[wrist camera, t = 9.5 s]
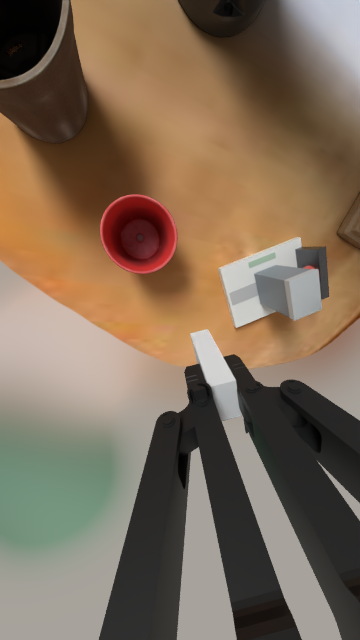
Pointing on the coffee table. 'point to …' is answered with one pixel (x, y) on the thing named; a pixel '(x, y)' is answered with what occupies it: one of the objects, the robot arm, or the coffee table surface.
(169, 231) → the flower pot
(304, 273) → the grey rectangular block
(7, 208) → the coffee table surface
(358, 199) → the candle holder
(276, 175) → the coffee table surface
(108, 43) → the coffee table surface
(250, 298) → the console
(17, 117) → the plant pot
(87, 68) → the coffee table surface
